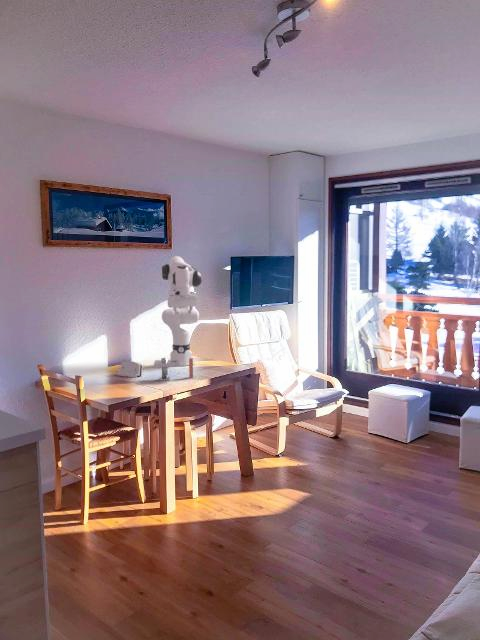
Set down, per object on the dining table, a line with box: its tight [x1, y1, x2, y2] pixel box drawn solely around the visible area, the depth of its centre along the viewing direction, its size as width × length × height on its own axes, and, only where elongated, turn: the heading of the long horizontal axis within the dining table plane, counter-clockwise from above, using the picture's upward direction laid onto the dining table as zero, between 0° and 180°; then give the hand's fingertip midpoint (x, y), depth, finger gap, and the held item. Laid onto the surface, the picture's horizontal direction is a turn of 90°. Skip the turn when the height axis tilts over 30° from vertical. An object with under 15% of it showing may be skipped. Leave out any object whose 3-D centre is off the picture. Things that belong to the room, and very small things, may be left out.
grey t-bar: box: [153, 357, 181, 382], centre depth 334 cm, size 10×15×13 cm, turn 96°
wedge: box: [188, 357, 194, 379], centre depth 339 cm, size 2×2×12 cm
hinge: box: [116, 360, 144, 379], centre depth 347 cm, size 17×5×10 cm, turn 60°
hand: (183, 314), depth 343 cm, fingers open, 8 cm apart
